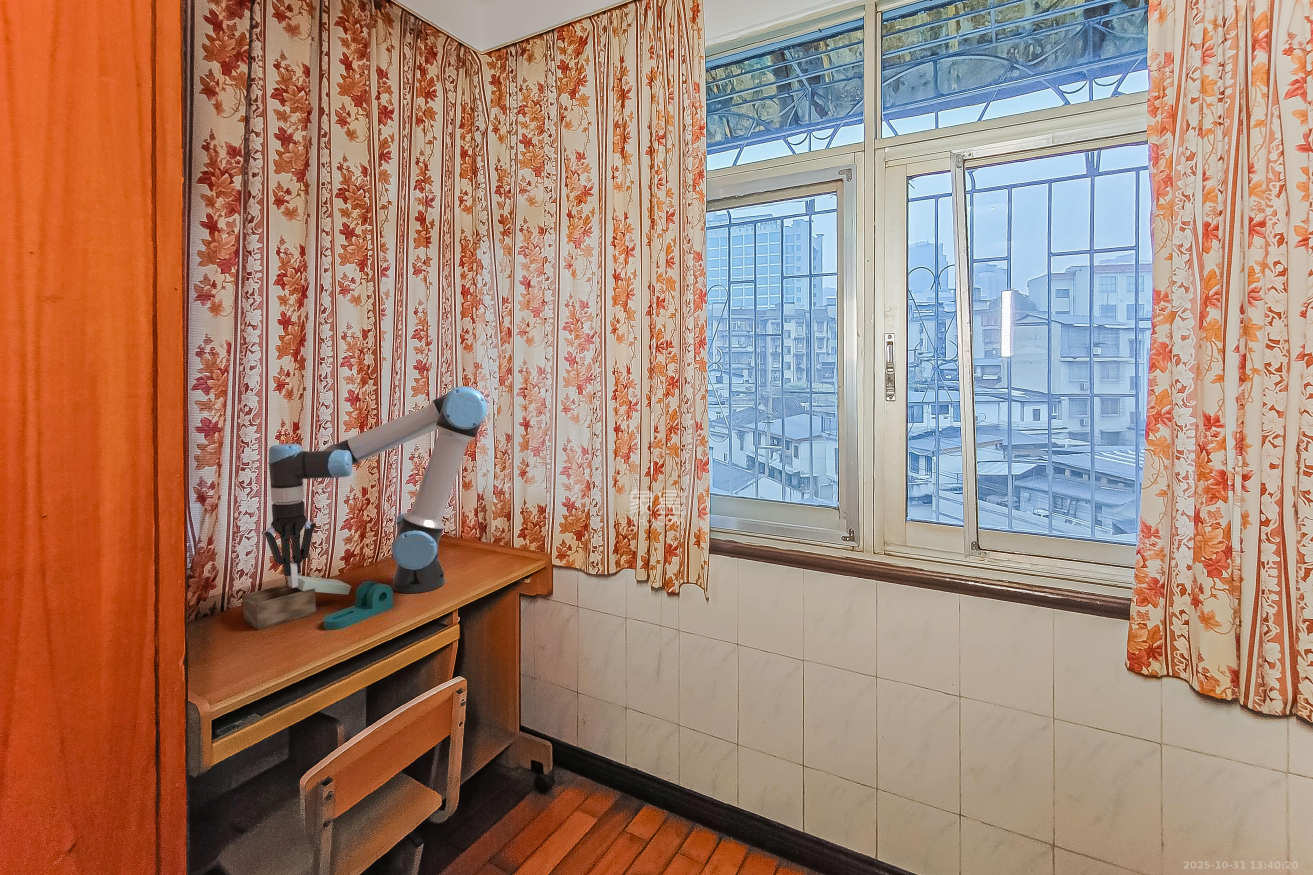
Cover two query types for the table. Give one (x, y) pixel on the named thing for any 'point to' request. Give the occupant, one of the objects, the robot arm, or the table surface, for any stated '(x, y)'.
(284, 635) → the table surface
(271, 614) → the box
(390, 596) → the bracket
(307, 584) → the lid
